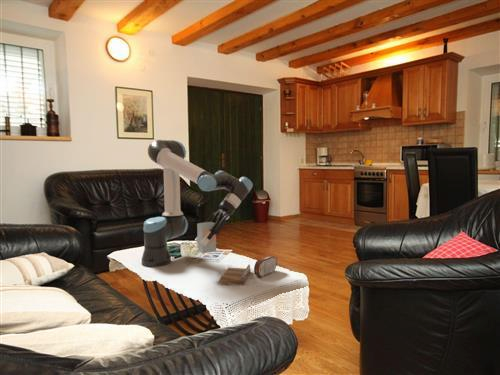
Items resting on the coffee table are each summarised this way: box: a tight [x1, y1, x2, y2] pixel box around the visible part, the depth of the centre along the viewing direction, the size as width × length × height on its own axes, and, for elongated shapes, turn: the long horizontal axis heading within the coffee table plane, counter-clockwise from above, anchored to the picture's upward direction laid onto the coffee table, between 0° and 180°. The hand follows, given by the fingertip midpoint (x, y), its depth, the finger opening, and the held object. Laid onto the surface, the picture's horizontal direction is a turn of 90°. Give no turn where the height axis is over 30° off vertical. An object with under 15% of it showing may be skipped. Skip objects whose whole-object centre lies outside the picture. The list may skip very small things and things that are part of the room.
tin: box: [253, 254, 278, 278], centre depth 166 cm, size 15×3×8 cm, turn 140°
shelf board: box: [218, 267, 251, 286], centre depth 163 cm, size 18×11×2 cm, turn 170°
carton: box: [196, 221, 217, 254], centre depth 164 cm, size 5×7×13 cm
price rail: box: [241, 264, 251, 282], centre depth 162 cm, size 18×1×2 cm, turn 170°
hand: (199, 242), depth 163 cm, fingers closed on carton, 5 cm apart
